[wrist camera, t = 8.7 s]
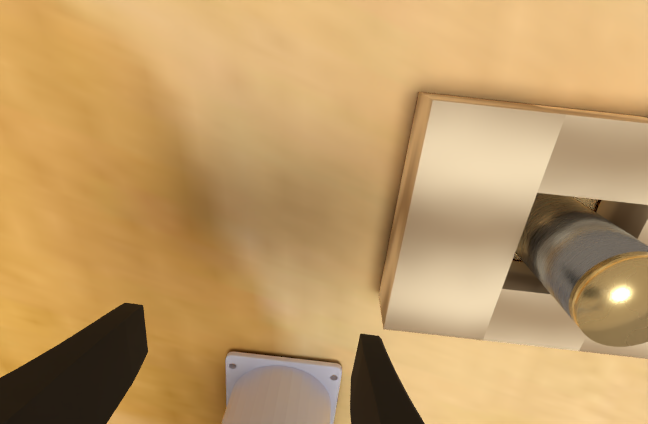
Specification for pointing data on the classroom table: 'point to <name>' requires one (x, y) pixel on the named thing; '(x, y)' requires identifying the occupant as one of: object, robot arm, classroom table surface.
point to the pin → (589, 269)
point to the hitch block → (502, 215)
